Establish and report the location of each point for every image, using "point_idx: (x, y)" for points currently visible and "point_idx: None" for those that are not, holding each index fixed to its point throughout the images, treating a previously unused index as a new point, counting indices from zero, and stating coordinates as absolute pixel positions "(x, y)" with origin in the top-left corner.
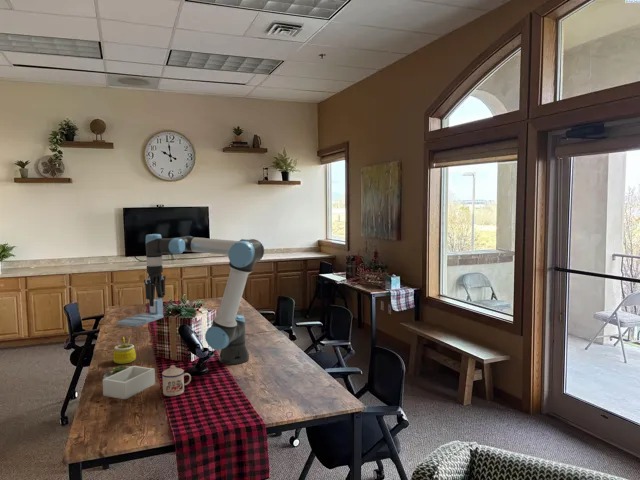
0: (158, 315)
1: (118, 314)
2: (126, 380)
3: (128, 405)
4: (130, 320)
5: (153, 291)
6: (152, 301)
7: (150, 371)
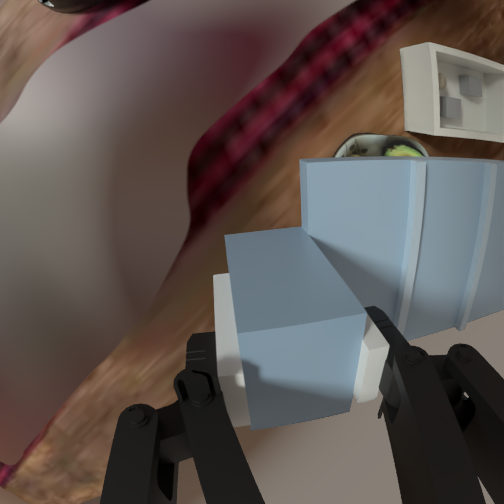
0: (340, 194)
1: (59, 500)
2: (457, 115)
3: (495, 45)
4: (491, 267)
5: (458, 445)
6: (395, 342)
7: (442, 46)
